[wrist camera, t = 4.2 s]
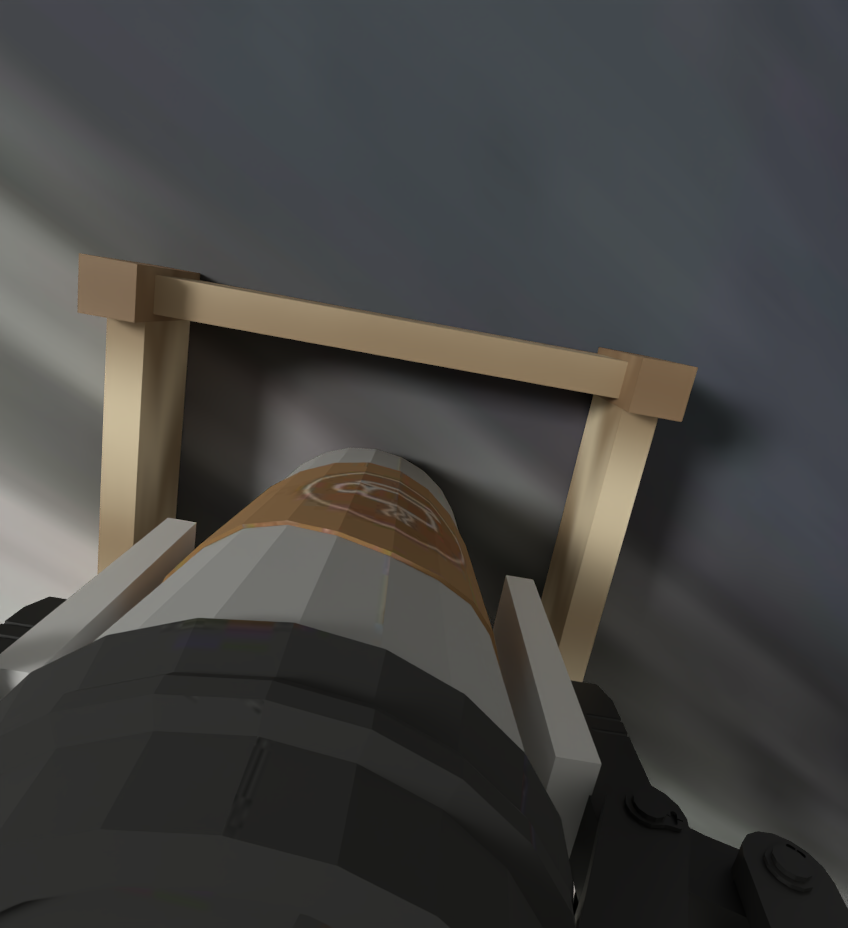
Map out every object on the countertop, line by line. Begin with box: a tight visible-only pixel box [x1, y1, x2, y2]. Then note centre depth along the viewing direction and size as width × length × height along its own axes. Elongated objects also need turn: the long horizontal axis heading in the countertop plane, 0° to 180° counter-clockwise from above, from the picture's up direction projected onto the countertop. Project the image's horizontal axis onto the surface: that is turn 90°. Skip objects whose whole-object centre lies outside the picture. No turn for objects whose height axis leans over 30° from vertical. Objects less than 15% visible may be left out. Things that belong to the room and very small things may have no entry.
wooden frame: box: [78, 253, 698, 682], centre depth 18 cm, size 15×15×4 cm
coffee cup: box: [0, 448, 576, 928], centre depth 13 cm, size 8×8×15 cm
